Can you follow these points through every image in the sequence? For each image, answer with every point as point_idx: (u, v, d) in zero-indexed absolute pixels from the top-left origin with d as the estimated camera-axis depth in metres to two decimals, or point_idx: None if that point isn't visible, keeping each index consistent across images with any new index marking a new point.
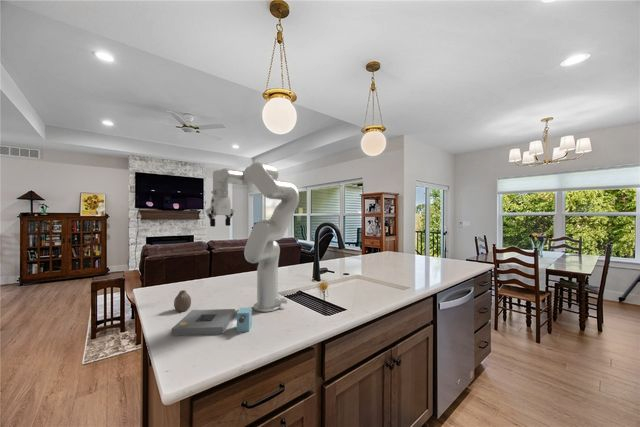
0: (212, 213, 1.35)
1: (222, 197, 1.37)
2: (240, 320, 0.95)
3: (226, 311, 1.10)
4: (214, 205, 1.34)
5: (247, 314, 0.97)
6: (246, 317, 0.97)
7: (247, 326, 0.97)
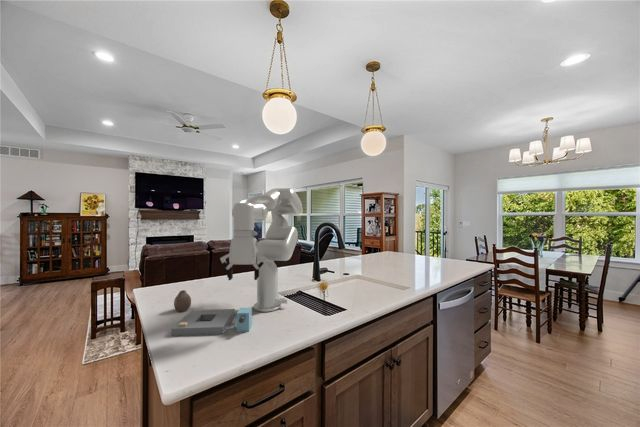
0: None
1: None
2: (240, 320, 0.95)
3: (226, 311, 1.10)
4: (257, 250, 1.02)
5: (247, 314, 0.97)
6: (246, 317, 0.97)
7: (247, 326, 0.97)
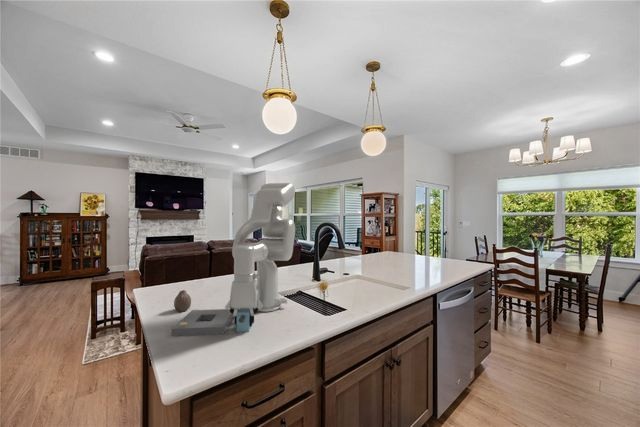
0: (252, 307, 1.00)
1: None
2: (240, 320, 0.95)
3: (226, 311, 1.10)
4: None
5: (247, 314, 0.97)
6: (246, 317, 0.97)
7: (247, 326, 0.97)
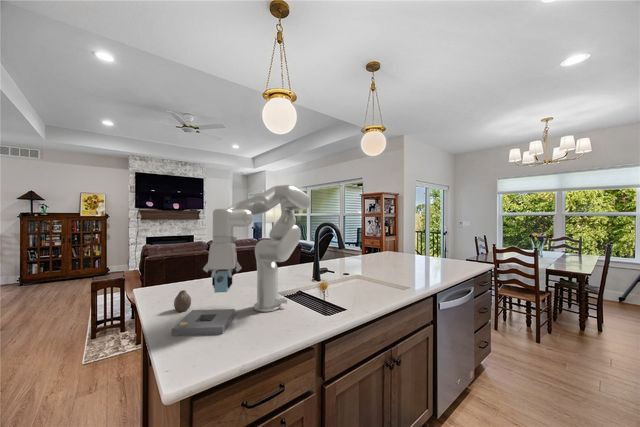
0: (231, 269, 1.02)
1: None
2: (218, 280, 0.96)
3: (226, 311, 1.10)
4: (236, 255, 1.04)
5: (225, 275, 0.99)
6: (224, 278, 0.99)
7: (225, 287, 0.99)
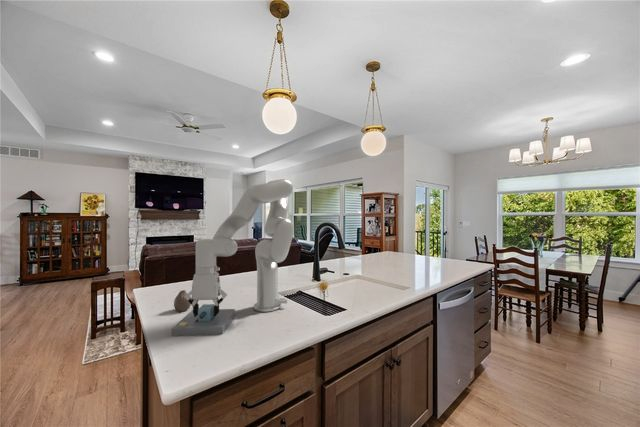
0: None
1: None
2: (200, 316, 0.99)
3: (226, 311, 1.10)
4: None
5: (208, 310, 1.01)
6: (207, 313, 1.01)
7: None
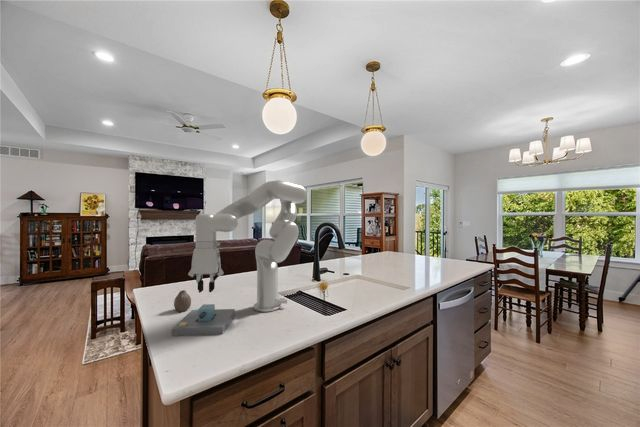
0: (213, 274, 1.03)
1: None
2: (200, 316, 0.99)
3: (226, 311, 1.10)
4: None
5: (208, 310, 1.01)
6: (207, 313, 1.01)
7: None
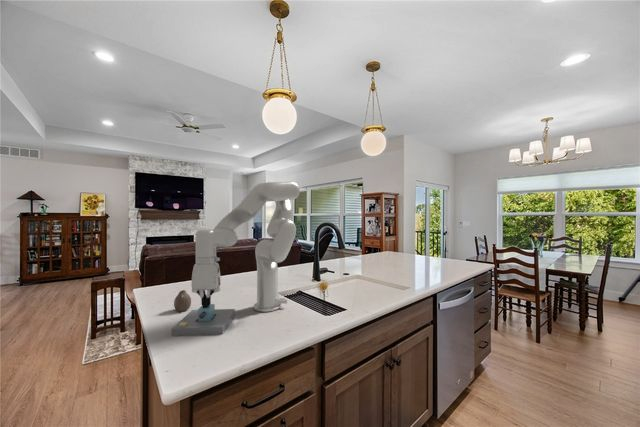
0: (211, 290, 1.03)
1: None
2: (200, 316, 0.99)
3: (226, 311, 1.10)
4: None
5: (208, 310, 1.01)
6: (207, 313, 1.01)
7: None
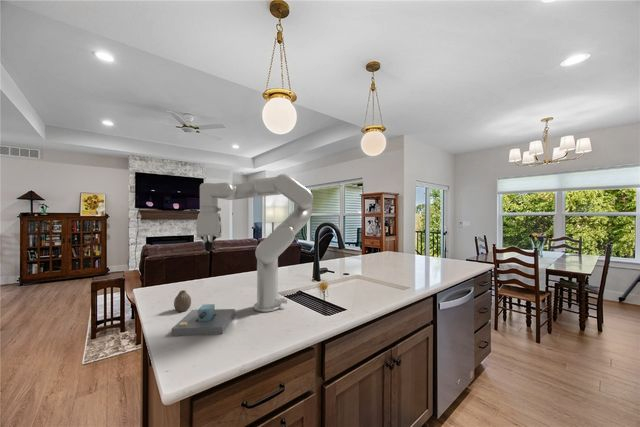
0: (213, 236, 1.18)
1: None
2: (200, 316, 0.99)
3: (226, 311, 1.10)
4: None
5: (208, 310, 1.01)
6: (207, 313, 1.01)
7: None
